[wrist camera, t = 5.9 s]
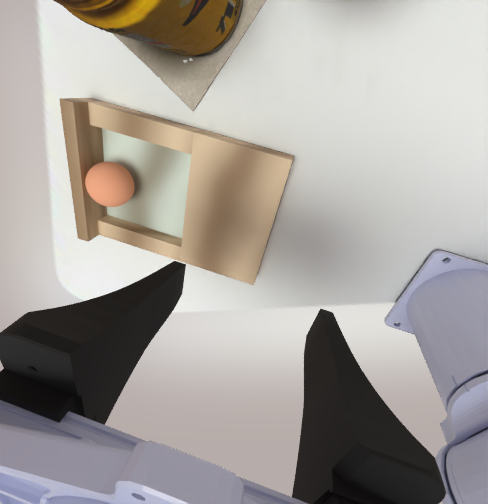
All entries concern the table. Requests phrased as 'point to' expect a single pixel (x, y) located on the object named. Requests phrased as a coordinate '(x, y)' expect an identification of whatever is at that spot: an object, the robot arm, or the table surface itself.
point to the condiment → (174, 35)
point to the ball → (109, 184)
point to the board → (176, 187)
